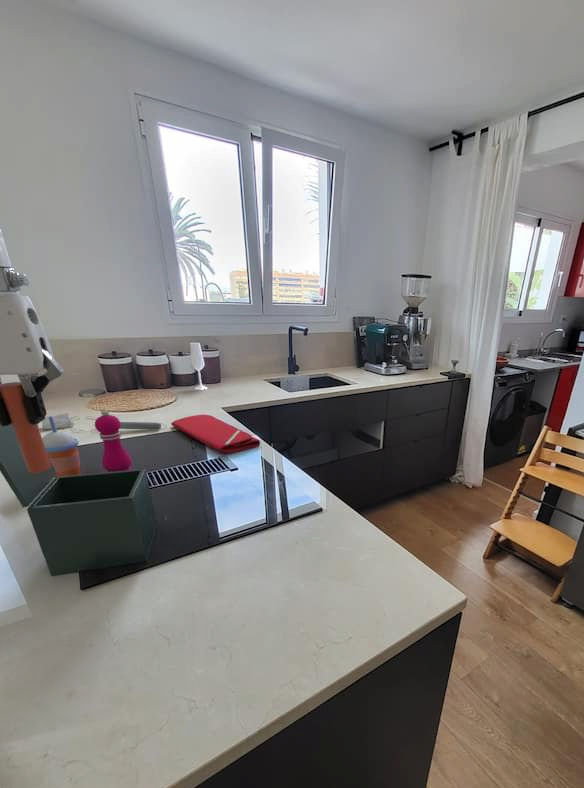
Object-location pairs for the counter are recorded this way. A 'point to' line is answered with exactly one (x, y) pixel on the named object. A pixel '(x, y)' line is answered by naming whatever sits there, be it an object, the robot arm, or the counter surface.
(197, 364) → the champagne flute
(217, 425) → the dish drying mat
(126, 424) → the kitchen whisk
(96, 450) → the counter surface
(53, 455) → the cup with straw
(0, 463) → the bin lid
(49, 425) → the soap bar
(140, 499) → the bin
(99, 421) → the pepper mill
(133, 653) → the counter surface
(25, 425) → the orange cylinder
